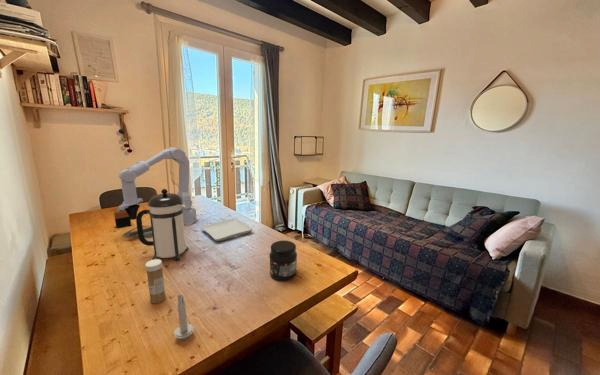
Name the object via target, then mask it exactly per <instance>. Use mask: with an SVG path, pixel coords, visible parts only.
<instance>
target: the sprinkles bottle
mask: <svg viewBox="0 0 600 375" xmlns="http://www.w3.org/2000/svg"><path fill="white" fill-rule="evenodd" d="M162 261H163V260H161V259H160V258H159V259H156V258H154V260H152V259H151V260H148V261H147V262H146V263H145V265H144V267H145V270H146V275H147V276H146V277H147V284H148V292H149V293H148V294H149V302H150V303H151V304H159V303H161V302H163V301H165V299H166V296H167V295H166V292H165V289H166V288H165V281H164V273H163V262H162Z"/></svg>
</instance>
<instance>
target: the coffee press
mask: <svg viewBox="0 0 600 375" xmlns="http://www.w3.org/2000/svg"><path fill="white" fill-rule="evenodd" d="M147 206H148V208H149V209H142V210H141V211H139V212H137V217H136V219H135V222H136V227H137V231H138V237H139V238H138V237H137V238H138V239H139V241H140V242H141V243H142V244H143V245H145V246H153V252H154V254H153V257H152V259H151V260H154V259H159V260H160V258H161V259H168V258H174V259H175V261H176V262H179V261H180V260H181V256H180V255H181V254H183V253H184V252H185V251H188V250H189V247H188V245H187V244H186V236H185V226H184V223H183V208H185V205H184V203H183V202H182V199H181V197H180V196H179V195H177V193H168V190H167V189H166V188H163V189H161V193H159V194H156V195H153V196H152V197H150V198H149V199H148V201H147ZM148 214H149V217H150V218H149V219H150V226H151V228H152V236H153V237H152V240H147V239H146V238H144V234H143V227H142V226H143V219H142V218H143V216H144V215H148ZM156 256H157V257H156Z"/></svg>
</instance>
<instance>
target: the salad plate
mask: <svg viewBox="0 0 600 375" xmlns="http://www.w3.org/2000/svg"><path fill="white" fill-rule="evenodd" d="M200 229H201V230H202V231H204V232H205V233H206V234H208V235H209V236H210V237H211V238H212V239H213V240H214V241H215V242H222V241H224V240H229V239H232V238H236V237H238V236H242V235H245V234H248V233H251V231H253V229H254V228H253V227H251V226H250V225H248V224H246V223H245V222H243V221H241V220H240V219H239V218H236V217H234V218H229V219H224V220H221V221H217V222H216V221H215V222H212V223H209V224H205V225H201V226H200Z"/></svg>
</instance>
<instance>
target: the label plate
mask: <svg viewBox="0 0 600 375" xmlns="http://www.w3.org/2000/svg"><path fill="white" fill-rule="evenodd" d="M149 226H150V225H142V227H143V228H145V227H149ZM134 230H137V226H136V227H134V228H131V229H130V230H129V231H127V232H131V231H134ZM127 232H124V233H123V234H121V236H122V238H138V239H139V237H138V235H135V236H131V237H129V236H128V235H127ZM143 234H144V238H145V239H146V238H147V239H153V236H152V231H149V232H145V233H143Z"/></svg>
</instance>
